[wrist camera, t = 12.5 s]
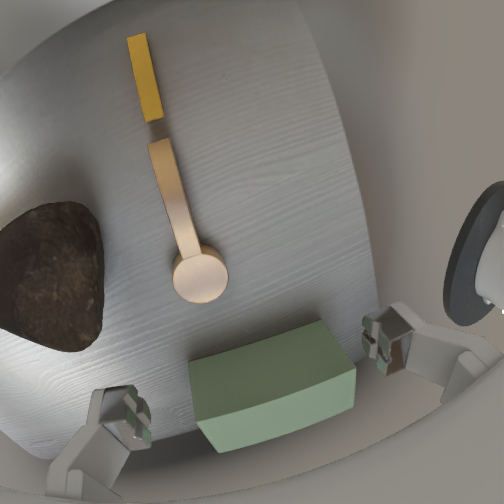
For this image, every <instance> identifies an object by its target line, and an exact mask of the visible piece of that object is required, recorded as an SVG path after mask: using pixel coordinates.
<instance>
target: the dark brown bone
mask: <svg viewBox="0 0 504 504" xmlns="http://www.w3.org/2000/svg"><path fill="white" fill-rule="evenodd" d="M103 308H104V253H103V247H102V242H101V239H100V231H99V226H98V223H97V220H96V219H95V217H94V216H93V215H92V214H91V213H90V212H89V210H88V209H87V208H86V207H85V206H84V205H82V204H79V203H76V202H71V201H67V202H56V203H48V204H44V205H41V206H39V207H36V208H34V209H31V210H28V211H27V212H25V213H24V214H22V215H21V216H19V217H18V218H16V219H14V220H13V221H12V222H11V223H9V224H8V225H7V226H6V227H5V228H3V229H2V230H1V231H0V328H1V329H4V330H6V331H8V332H10V333H13V334H15V335H17V336H20V337H22V338H24V339H27V340H30V341H32V342H35V343H37V344H40V345H43V346H45V347H48V348H51V349H54V350H58V351H62V352H79V351H82V350H85V349H86V348H87V347H89V346H90V345H91V344H92V343H93V342H94V341H95V340H96V339H97V338H98V336H99V334H100V332H101V330H102V319H103Z"/></svg>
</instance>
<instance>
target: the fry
mask: <svg viewBox="0 0 504 504" xmlns="http://www.w3.org/2000/svg"><path fill="white" fill-rule="evenodd" d="M127 43H128V48H129V53H130V58H131V63H132V67H133V72H134V77H135V81H136V86H137V90H138V94H139V99H140V103H141V107H142V111H143V115H144V119H145V122H147V123H148V122H151V121H154V120H158V119H161V118H164V117H165V116H164V112H163V107H162V103H161V99H160V95H159V91H158V86H157V82H156V78H155V73H154V69H153V64H152V60H151V55H150V51H149V46H148V41H147V37H146V34H145V33H142V34H138V35H135V36H132V37H129V38H127Z"/></svg>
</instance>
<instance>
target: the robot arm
mask: <svg viewBox="0 0 504 504" xmlns="http://www.w3.org/2000/svg"><path fill="white" fill-rule="evenodd" d="M475 290H476V292H477V294H478V295H479V296H482V297H483V301H484V303H486V304H488V305H489V304H490V303H493V304H494V305H496V306H498V307H499V308H501V309H503V313H504V210H503V211H502V213H501V215H500V218H499V220H498V223H497V226H496V228H495V230H494V231H493V233H492V234H491V236H490V238H489V240H488V242H487V243H486V246H485V248H484V250H483V252H482V255H481V258H480V261H479V264H478V267H477V272H476V277H475ZM362 325H363V326H364V327H365V330H364V332H363V333H362V343H363V347H364V349H365V351H366V353H367V354H368V356H369V357H370V358H373V359H376V367H377V368H378V369H379V371H380V372H381V373H382V375H383V376H384V377H385V378H386V377H388V376H390V375H392V374H394V373H396V372H398V371H400V370H402V369H404V368H405V370H407V371H409V372H411V373H414V374H416V375H418V376H420V377H422V378H425V379H427V380H429V381H431V382H434V383H436V384H438V385H440V386H442V387H445V390H444V392H443V395H442V396H441V399H440V402H441V404H442V406H440V407H438V408H437V409H435V410H434V411H432V412H431V413H429V414H427V415H426V416H424V417H423V418H421V419H419V420H418V421H416V422H414V423H412V424H411V425H409V426H407V427H406V428H404V429H402V430H400V431H398V432H396V433H395V434H393V435H391V436H389V437H387V438H385V439H383V440H381V441H379V442H377V443H375V444H373V445H371V446H369V447H367V448H365V449H362V450H360V451H358V452H356V453H353V454H351V455H349V456H346V457H344V458H342V459H339V460H337V461H334V462H332V463H329V464H327V465H324V466H321V467H319V468H316V469H313V470H311V471H308V472H305V473H302V474H298V475H295V476H292V477H289V478H286V479H282V480H279V481H275V482H272V483H268V484H265V485H260V486H257V487H252V488H248V489H243V490H239V491H234V492H229V493H224V494H218V495H212V496H205V497H198V498H191V499H183V500H172V501H158V502H136V503H135V502H134V503H133V502H132V503H123V498H122V497H121V496H120V495H118V494H116V493H115V492H113V491H112V490H110V489H111V487H112V485H113V483H114V482H115V480H116V478H117V476H118V474H119V472H120V470H121V469H122V467H123V465H124V463H125V461H126V459H127V457H128V456H129V454H130V451H134V450H141V449H148V448H151V432H150V431H149V430H148V429H147V428H148V426H149V425H150V423H151V414H150V410H149V407H148V405H147V403H146V401H145V400H144V399H143V398H141V397H139V396H137V394H138V390H137V389H136V388H135V387H134V385H123V386H117V387H109V388H104V389H96V390H94V391H93V392H92V395H91V400H90V405H89V410H88V416H87V421H86V426H82V427H81V428H80V429H79V431H78V432H77V433H76V434H75V436H74V437H73V438H72V439H71V440H70V442H69V443H68V444H67V445H66V446H65V448H64V449H63V450H62V451H61V453H60V454H59V455H58V456H57V457H56V459H55V460H54V461H53V462H52V464H51V465H50V466H49V469H48V476H47V482H46V489H45V496H43V495H37V494H31V493H27V492H22V491H18V490H14V489H10V488H6V487H2V486H0V504H504V354H502V353H501V352H500V351H499V350H498V349H497V348H496V347H495V346H494V345H493V344H492V343H490V341H488V340H487V339H486V338H485V337H484V336H480V335H476V334H471V333H468V332H464V331H460V330H456V329H451V328H448V327H444V326H440V325H436V324H433V323H429V324H426V323H425V322H424V321H423V320H422V319H421V318H420V317H419V316H417V314H415V313H414V312H413V311H412V310H411V309H410V308H409V307H408V306H407V305H406V304H404V303H403V302H402V301H397V302H395V303H392V304H390V305H388V306H386V307H384V308H381V309H379V310H377V311H374V312H372V313H369V314H367V315H365V316H364V317H363V321H362Z"/></svg>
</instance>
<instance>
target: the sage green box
mask: <svg viewBox="0 0 504 504" xmlns="http://www.w3.org/2000/svg"><path fill="white" fill-rule="evenodd" d="M188 366H189V375H190V383H191V391H192V399H193V406H194V413H195V420H196V423H197V424H198V426H199V427H200V429H201V430H202V431H203V433H204V434H205V436H206V437H207V438H208V440H209V441H210V442H211V444H212V445H213V446H214V448H215V449H216V450H217V451H218V453H222V452H226V451H230V450H234V449H238V448H242V447H246V446H249V445H253V444H256V443H259V442H263V441H266V440H269V439H272V438H276V437H279V436H282V435H285V434H287V433H290V432H293V431H296V430H299V429H301V428H304V427H307V426H310V425H312V424H315V423H317V422H320V421H322V420H325V419H327V418H329V417H332V416H334V415H337V414H339V413H341V412H343V411H346V410H348V409H350V408H352V407H354V395H355V381H356V380H355V379H356V367H355V365H354V364H353V362H352V361H351V360H350V358H349V357H348V355H347V354H346V353H345V351H344V350H343V349H342V347H341V346H340V344H339V343H338V342H337V340H336V339H335V337H334V336H333V335H332V333H331V332H330V331H329V329H328V328H327V326H326V325H325V324H324V322H323V321H322V320H318V321H315V322H313V323H310V324H307V325H305V326H302V327H299V328H296V329H293V330H290V331H288V332H285V333H282V334H279V335H276V336H273V337H270V338H267V339H264V340H261V341H258V342H255V343H252V344H248V345H245V346H242V347H239V348H236V349H232V350H229V351H226V352H222V353H219V354H215V355H212V356H208V357H205V358H201V359H197V360H194V361H190V362H188Z"/></svg>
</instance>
